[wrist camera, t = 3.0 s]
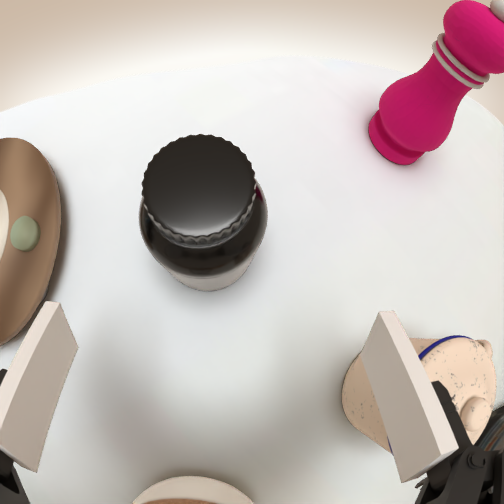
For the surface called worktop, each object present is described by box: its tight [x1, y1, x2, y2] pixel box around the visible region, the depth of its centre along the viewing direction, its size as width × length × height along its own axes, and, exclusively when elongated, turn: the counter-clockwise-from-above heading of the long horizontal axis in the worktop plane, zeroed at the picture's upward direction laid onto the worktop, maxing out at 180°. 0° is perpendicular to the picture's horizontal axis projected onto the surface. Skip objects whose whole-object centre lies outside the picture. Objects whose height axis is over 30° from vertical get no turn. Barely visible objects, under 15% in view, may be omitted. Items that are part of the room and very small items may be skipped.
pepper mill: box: [369, 0, 504, 165], centre depth 18 cm, size 7×7×20 cm
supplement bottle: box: [139, 134, 268, 291], centre depth 18 cm, size 7×7×12 cm
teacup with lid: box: [342, 335, 496, 456], centre depth 17 cm, size 12×9×12 cm
